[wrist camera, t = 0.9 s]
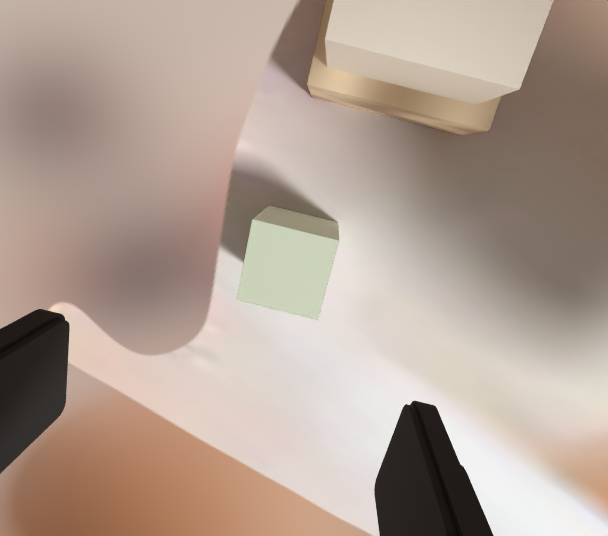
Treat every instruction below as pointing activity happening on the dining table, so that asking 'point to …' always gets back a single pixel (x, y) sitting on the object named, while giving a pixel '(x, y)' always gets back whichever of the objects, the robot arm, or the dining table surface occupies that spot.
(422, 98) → the tower base
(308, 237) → the sage block
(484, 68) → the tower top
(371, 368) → the dining table surface
